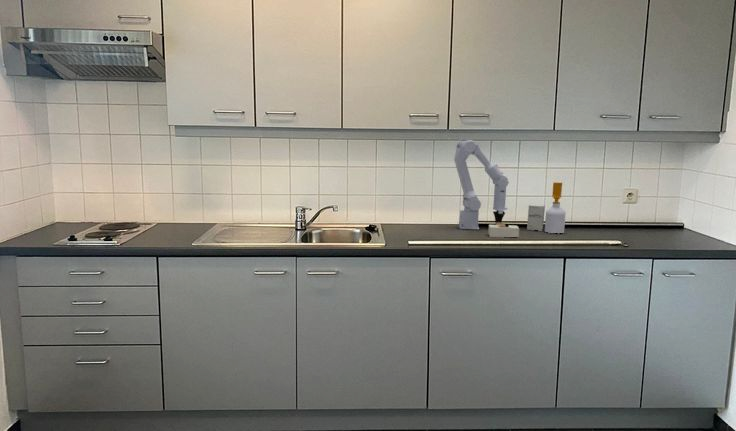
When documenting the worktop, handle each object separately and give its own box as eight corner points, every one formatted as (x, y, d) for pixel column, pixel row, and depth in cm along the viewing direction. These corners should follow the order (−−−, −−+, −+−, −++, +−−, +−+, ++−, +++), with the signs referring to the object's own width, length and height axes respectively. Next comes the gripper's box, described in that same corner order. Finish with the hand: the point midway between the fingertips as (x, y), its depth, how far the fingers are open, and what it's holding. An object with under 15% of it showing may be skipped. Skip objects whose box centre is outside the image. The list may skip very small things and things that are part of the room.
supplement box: (526, 230, 273) (528, 205, 271) (528, 227, 279) (529, 203, 277) (542, 231, 270) (543, 206, 268) (543, 229, 277) (545, 204, 275)
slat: (498, 234, 262) (498, 226, 261) (495, 229, 273) (496, 222, 273) (505, 234, 261) (506, 226, 260) (502, 230, 273) (503, 222, 272)
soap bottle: (544, 233, 265) (547, 182, 261) (544, 230, 273) (548, 180, 270) (564, 234, 262) (568, 183, 258) (563, 231, 271) (567, 181, 267)
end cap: (489, 236, 254) (490, 227, 253) (488, 233, 261) (488, 224, 261) (518, 238, 253) (519, 228, 252) (516, 235, 260) (516, 225, 259)
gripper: (509, 201, 268) (508, 228, 270) (505, 197, 282) (504, 223, 284) (495, 200, 269) (493, 228, 271) (491, 197, 283) (490, 223, 285)
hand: (498, 225), depth 278 cm, fingers closed
